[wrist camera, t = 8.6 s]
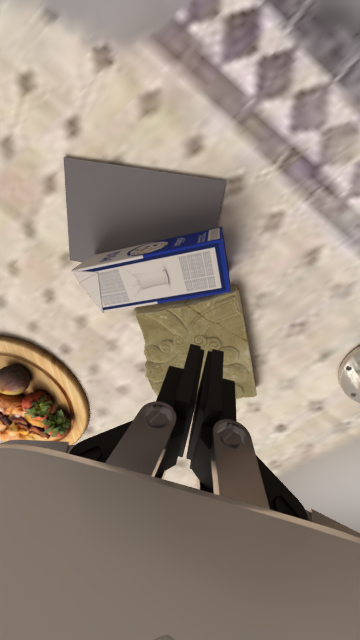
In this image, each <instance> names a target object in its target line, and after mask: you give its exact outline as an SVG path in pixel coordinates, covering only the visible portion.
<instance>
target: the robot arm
mask: <svg viewBox="0 0 360 640" xmlns="http://www.w3.org/2000/svg"><path fill="white" fill-rule="evenodd" d="M204 351H205V350H203V349H201V346H198V345H194V344H190V347H189V351H188V354H187V358H186V362H185V365H184V369H182V368H178V367H174V366H169V368H168V370H167V373H166V376H165V378H164V381H163V384H162V387H161V389H160V392H159V395H158V397H157V400H156V402H150V403H148V404H146V405H144V406H143V407H142V408H141V409H140V411H139V412H138V414H137V416H136V417H135V419H134V420H133V421H130V422H128V423H125V424H123V425H120V426H118V427H115V428H113V429H110V430H108V431H105V432H103V433H100V434H98V435H95V436H93V437H90V438H88V439H86V440H83V441H81V442H80V443H78V444H76V445H69V442H63V441H41V440H18V439H17V440H9V441H6V442H4V443H1V444H0V640H360V533H358V532H356V531H354V530H352V529H350V528H348V527H346V526H344V525H342V524H340V523H338V522H336V521H334V520H332V519H330V518H328V517H326V516H325V515H323V514H321V513H319V512H316V511H315V510H312V509H311V510H310V512H309V511H307V510H305V509H304V507H303V506H302V504H301V503H300V502H299V500H298V499H297V498H296V497H295V496H294V495H293V494H292V493H291V492H290V491H289V490H288V489H287V488H286V486H284V484H283V483H282V482H281V481H280V480H279V479H278V478H277V477H276V476H275V475H274V474H273V473H272V472H271V471H270V469H269V468H268V467H267V466H266V465H265V464H264V463H263V462H262V461H261V460H260V459H259V458H258V457H257V456H256V454H255V450H254V447H253V443H252V439H251V436H250V434H249V432H248V430H247V429H246V428H245V427H244V426H243V425H242V424H240V423H238V422H236V396H235V381H233V380H228V379H224V378H223V360H224V351H220V350H216V349H213V350H212V351H208V352H207V356H206V361H205V365H204V369H203V373H202V377H201V381H200V375H201V369H202V363H203V357H204ZM338 379H339V384H340V386H341V388H342V389H343V391H344V392H345V394H346V395H347V396H348V397H350V398H351V399H353V400H354V401H356V402H359V403H360V346H359V347H357V348H356V349H354V350H353V351H352V352H351V353H349V354H348V356H347V357H346V358H345V359H344V360H343V362H342V364H341V365H340V368H339V372H338ZM199 381H200V385H199ZM198 387H199V389H198ZM197 392H198V393H197ZM194 408H195V410H194ZM193 413H194V416H193ZM192 417H193V422H192V428H191V434H190V440H189V446H188V452H187V459H190V460H191V464H190V469H192V470H193V472H194V473H195V475H196V476H197V477H198V479H197V489H195V488H192V487H188V486H185V485H181V484H178V483H174V482H170V481H167V480H163V478H164V476H165V472H166V470H167V469H169V468H171V467H172V466H174V465H176V462H177V458H178V456H179V457H183V453H184V449H185V445H186V441H187V437H188V433H189V429H190V425H191V421H192Z"/></svg>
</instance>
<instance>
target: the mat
mask: <svg viewBox="0 0 360 640" xmlns="http://www.w3.org/2000/svg"><path fill="white" fill-rule="evenodd" d="M64 169H65V186H66V202H67V218H68V235H69V251H70V260H72V261H78V262H84V261H85V260H87V259H88V258H90V257H91V256H93V255H96V254H101V253H106V252H110V251H115V250H119V249H124V248H128V247H133V246H137V245H142V244H147V243H151V242H156V241H160V240H165V239H169V238H174V237H178V236H183V235H187V234H192V233H197V232H201V231H206V230H210V229H215V228H217V225H218V220H219V215H220V209H221V204H222V199H223V194H224V188H225V183H226V181H223V180H217V179H210V178H203V177H196V176H189V175H182V174H176V173H169V172H162V171H155V170H148V169H141V168H135V167H128V166H121V165H114V164H107V163H100V162H94V161H87V160H80V159H73V158H66V157H64Z"/></svg>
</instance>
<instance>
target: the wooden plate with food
mask: <svg viewBox="0 0 360 640" xmlns="http://www.w3.org/2000/svg"><path fill="white" fill-rule="evenodd" d="M88 422H89V406H88V402H87V398H86V396H85V393H84V391H83V389H82V387H81V386H80V384H79V382H78V381H77V379H76V378H75V377H74V376H73V374H72V373H71V372H70V371H69V370H68V369H67V368H66V367H65V366H64V365H63V364H62V363H61V362H60V361H59V360H58V359H56V358H55V357H54V356H52V355H51V354H49V353H48V352H46V351H45V350H43V349H41V348H39V347H37V346H35V345H33V344H31V343H29V342H26V341H23V340H20V339H16V338H11V337H5V336H0V439H1V440H3V441H5V442H6V441H9V440H17V439H18V440H41V441H63V442H69V445H72V444H74V443H75V442H77V441H78V440H79V439H80V438H81V436H82V435H83V433H84V432H85V430H86V428H87V425H88Z"/></svg>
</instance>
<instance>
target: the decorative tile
mask: <svg viewBox="0 0 360 640" xmlns="http://www.w3.org/2000/svg"><path fill="white" fill-rule="evenodd" d="M230 289H231V292H227V293H221V294H215V295H209V296H202V297H196V298H190V299H184V300H177V301H171V302H165V303H159V304H153V305H146V306H140V307H137V308H135V309H134V313H135V315H136V317H137V320H138V323H139V325H140V327H141V330H142V332H143V336H144V339H145V350H144V354H145V356H146V359H147V362H146V364H145V366H146V373H145V376H146V378H148V380H149V382H150V385H151V387H152V389H153V390H154V392H155V393H156V395H157V396H158V395H159V392H160V389H161V387H162V384H163V381H164V378H165V376H166V373H167V370H168V368H169V366H174V367H178V368H182V369H184V365H185V362H186V358H187V354H188V351H189V347H190V344H194V345H198V346H201V349H203V350H205V351H204V357H203V363H202V369H201V375H200V381H201V377H202V373H203V369H204V365H205V361H206V356H207V352H208V351H212V350H213V349H216V350H220V351H224V360H223V378H224V379H228V380H233V381H235V396H236V399H238V398H241V397H255V396H256V395H257V392H256V386H255V380H254V374H253V367H252V361H251V355H250V349H249V344H248V336H247V331H246V326H245V320H244V314H243V309H242V303H241V298H240V293H239V289H238V287H237V286H230ZM200 381H199V385H200ZM198 389H199V387H198ZM197 393H198V392H197Z"/></svg>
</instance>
